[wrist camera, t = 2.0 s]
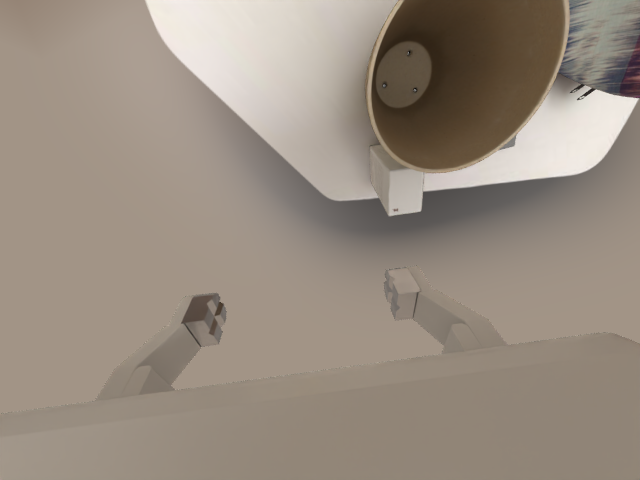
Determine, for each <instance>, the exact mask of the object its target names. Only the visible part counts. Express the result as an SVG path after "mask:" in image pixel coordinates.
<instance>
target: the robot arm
mask: <svg viewBox="0 0 640 480" xmlns="http://www.w3.org/2000/svg"><path fill="white" fill-rule="evenodd" d="M385 278H386V281H385V282H384V290H385V295H386V299H387V301H388V302H389V303H391V311H392V314H393V316H394V319H395V320H404V319H413V320H414V321H416V322H417V323H418V324H419V325H420V326H421V327H423V328H424V329H425V330H426V331H427V332H428V333H430V334H431V335H432V336H433V337H434V338H435V339H437V340H438V341H439V342H440V343H441V344H442V345H444V348H443V351H442V354H439V355H432V356H424V357H416V358H409V359H401V360H394V361H387V362H379V363H373V364H365V365H357V366H350V367H343V368H335V369H328V370H321V371H314V372H306V373H300V374H291V375H285V376H277V377H270V378H262V379H255V380H247V381H240V382H232V383H226V384H217V385H210V386H203V387H196V388H188V389H181V390H175V389H174V388H173V387H172V386H171V384H172V383H173V382H174V381H175V379H176V378H177V377H178V376H179V374H180V373H181V372H182V371H183V370H184V368H185V367H186V366H187V365H188V363H189V362H190V361H191V360H192V358H193V357H194V356H195V355H196V353H197V352H198V351H199V350H200V349H201V347H205V346H210V345H217V344H219V342H220V339H221V335H222V330H221V327H222V326H223V325H224V323H225V321H226V308H225V306H224V304H223V303H221V302H219V301H220V296H219V294H218V293H209V294H201V295H193V296H185V297H183V298H182V300H181V302H180V304H179V306H178V308H177V310H176V312H175V314H174V316H173V318H172V320H171V322H170V324H169V326H165V327H164V328H162V329H161V330H160V331H159V332H158V333H157V334H155V335H154V336H153V337H152V338H151V339H150V340H148V341H147V342H146V343H145V344H143V345H142V346H141V347H140V348H139V349H138V350H136V351H135V352H134V353H133V354H132V355H130V356H129V357H128V358H127V359H126V360H124V361H123V362H122V363H121V364H120V365H119V366H117V367H116V368H115V369H114V370H113V372H112V374H111V376H110V377H109V379H108V380H107V382H106V383H105V385H104V387H103V389H102V390H101V392H100V393H99V395H98V397H97V398H96V400H95V401H92V402H84V403H77V404H70V405H62V406H55V407H47V408H40V409H34V410H26V411H18V412H9V413H1V414H0V480H640V344H639V343H637V342H635V341H632V340H630V339H627V338H625V337H622V336H620V335H617V334H613V333H605V332H604V333H594V334H586V335H578V336H571V337H563V338H556V339H549V340H541V341H534V342H528V343H519V344H512V345H507V344H506V342H505V341H504V340H503V338H502V337H501V336H500V334H499V333H498V332H497V330H496V329H495V328H494V326H493V325H492V324H491V323H490V321H489V320H488V319H487V318H485V317H483V316H482V315H480V314H478V313H476V312H475V311H473V310H471V309H469V308H468V307H466V306H464V305H462V304H461V303H458V302H457V301H456V300H454V299H452V298H450V297H449V296H447V295H445V294H443V293H442V292H440V291H438V290H433V288H432V287H431V285H430V284H429V282H428V281H427V279H426V277H425V276H424V274H423V273H422V271H421V269H420V268H419V267H418V266H410V267H403V268H396V269H389V270H386V271H385Z"/></svg>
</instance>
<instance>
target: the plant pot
mask: <svg viewBox="0 0 640 480" xmlns="http://www.w3.org/2000/svg"><path fill="white" fill-rule="evenodd" d="M569 24H570V10H569V0H399V1H398V2H397V3H396V5H395V6H394V8H393V10H392V11H391V13H390V15H389V16H388V18H387V20H386V22H385V24H384V26H383V27H382V29H381V32H380V34H379V36H378V38H377V40H376V42H375V45H374V47H373V50H372V53H371V56H370V59H369V63H368V68H367V73H366V82H365V95H366V104H367V109H368V114H369V118H370V121H371V124H372V127H373V130H374V133H375V135H376V137H377V139H378V141H379V142H380V144H381V146H382V147H383V148H384V150H385V151H386V152H387V153H388V154H389V155H390V156H391V157H392V158H393V159H394V160H396V161H397V162H398V163H400V164H402V165H404V166H406V167H408V168H410V169H413V170H416V171H420V172H426V173H446V172H451V171H456V170H460V169H463V168H466V167H468V166H471V165H473V164H475V163H478V162H480V161H482V160H484V159H485V158H487V157H489V156H490V155H492V154H493V153H495V152H496V151H498V150H499V149H500V148H502V147H503V146H504V145H505V144H507V143H508V142H509V141H510V140H511V139H512V138H513V137H514V136H515V135H516V134H517V133H518V132H519V131H520V130H521V129H522V128H523V127H524V126H525V125H526V124H527V123H528V121H529V120H530V119H531V118H532V116H533V115H534V114H535V112H536V111H537V110H538V108H539V107H540V105H541V104H542V102H543V101H544V99H545V97H546V96H547V94H548V92H549V90H550V89H551V87H552V85H553V83H554V81H555V78H556V76H557V73H558V71H559V68H560V66H561V63H562V60H563V56H564V53H565V49H566V45H567V40H568V34H569ZM408 51H410V55H409V56H408V55H407V53H408ZM383 84H386V85H387V86H386V87H385V88H383ZM414 88H416V89H417V91H416V92H414V91H413V89H414Z"/></svg>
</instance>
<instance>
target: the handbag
mask: <svg viewBox="0 0 640 480" xmlns="http://www.w3.org/2000/svg"><path fill="white" fill-rule="evenodd" d="M569 10H570V24H569V34H568V40H567V45H566V49H565V53H564V56H563V60H562V63H561V66H560V68H559V71H558V72H559V73H561V74H562V75H564V76H565V77H567V78H570V79H572V80H574V81H576V82H578V83H581V85H580V86H578V87H577V88H575V89H574V90H576V89H578V90H579V89H580V88H582V87H583V86H585V85H586V86H589V87H591V88H592V89H590V90H589V91H588V92H586V93H585V94H584V95H582V96H585V97H586V96H587V95H589V94H590V93H591V92H593V91H594V90H596V89H597V90H600V91H603V92H606V93H610V94H613V95H619V96H625V97H633V98H640V0H569ZM576 91H577V90H576ZM576 91H575V92H576ZM570 93H573V92H572V91H571V92H570ZM582 96H581V97H582ZM582 99H583V98H582ZM577 100H580V99H579V98H578V99H577Z"/></svg>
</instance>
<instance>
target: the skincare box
mask: <svg viewBox="0 0 640 480" xmlns="http://www.w3.org/2000/svg"><path fill="white" fill-rule="evenodd" d="M370 171H371V183H372V185H373V187H374V189H375V191H376V193H377V195H378V197H379V199H380V201H381V202H382V204H383V206H384V208H385V210H386V212H387V214H388V216H393V215H399V214H407V213H414V212H420V211H421V208H422V197H423V184H424V172H420V171H416V170H413V169H410V168H408V167H406V166H404V165H402V164H400V163H398V162H397V161H396V160H394V159H393V158H392V157H391V156H390V155H389V154H388V153H387V152H386V151H385V150H384V148H383V147H382V146H381V144H380V145H374V146H370Z"/></svg>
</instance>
